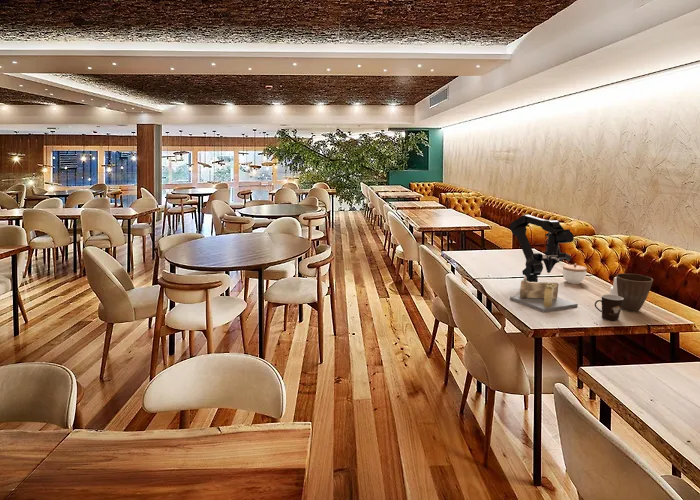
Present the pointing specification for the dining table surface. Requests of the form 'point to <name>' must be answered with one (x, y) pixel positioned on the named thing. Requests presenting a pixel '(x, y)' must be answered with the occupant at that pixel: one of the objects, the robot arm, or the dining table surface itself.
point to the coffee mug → (610, 307)
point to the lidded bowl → (574, 273)
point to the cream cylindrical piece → (614, 288)
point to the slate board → (539, 302)
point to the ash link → (535, 289)
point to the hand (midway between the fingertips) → (548, 272)
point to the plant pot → (633, 290)
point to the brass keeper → (549, 294)
